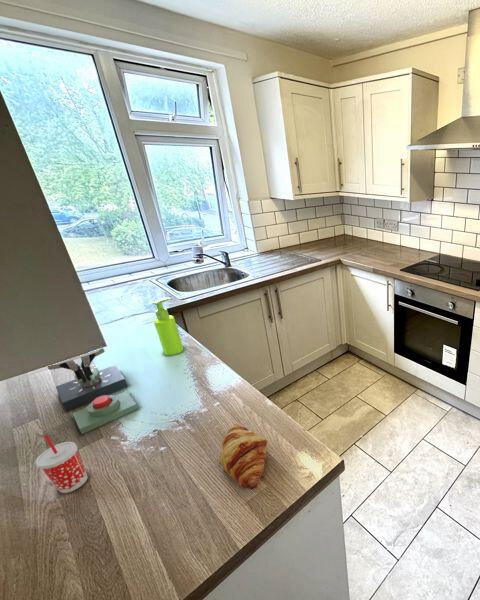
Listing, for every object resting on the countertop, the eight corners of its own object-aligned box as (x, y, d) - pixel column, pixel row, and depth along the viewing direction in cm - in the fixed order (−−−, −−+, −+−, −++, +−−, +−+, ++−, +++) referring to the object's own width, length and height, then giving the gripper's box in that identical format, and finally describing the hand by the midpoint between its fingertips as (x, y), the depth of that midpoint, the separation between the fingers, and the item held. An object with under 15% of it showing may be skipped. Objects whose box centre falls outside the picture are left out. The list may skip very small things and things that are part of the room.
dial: (77, 382, 98) (71, 369, 96) (100, 374, 101) (94, 361, 99) (80, 390, 95) (74, 376, 93) (103, 381, 98) (97, 368, 96)
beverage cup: (66, 473, 73) (39, 426, 68) (98, 468, 75) (73, 421, 69) (46, 499, 68) (14, 450, 62) (81, 493, 69) (53, 444, 64)
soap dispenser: (189, 347, 121) (175, 298, 113) (171, 356, 116) (154, 305, 107) (179, 343, 124) (164, 295, 115) (160, 353, 118) (143, 302, 110)
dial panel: (66, 411, 91) (61, 402, 90) (59, 394, 97) (55, 385, 96) (128, 386, 101) (124, 378, 100) (118, 372, 107) (114, 364, 106)
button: (96, 411, 87) (93, 406, 86) (93, 405, 89) (90, 400, 88) (113, 403, 89) (110, 398, 89) (109, 398, 92) (107, 393, 91)
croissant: (226, 446, 85) (203, 432, 80) (259, 417, 88) (239, 402, 83) (246, 511, 69) (219, 498, 64) (285, 473, 72) (262, 458, 67)
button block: (81, 434, 84) (76, 424, 82) (74, 417, 89) (69, 407, 87) (138, 408, 92) (134, 398, 91) (128, 395, 97) (124, 385, 96)
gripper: (95, 302, 86) (118, 361, 93) (10, 322, 75) (44, 387, 82) (102, 311, 81) (125, 372, 89) (13, 333, 71) (48, 400, 78)
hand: (86, 379), depth 86 cm, fingers closed
